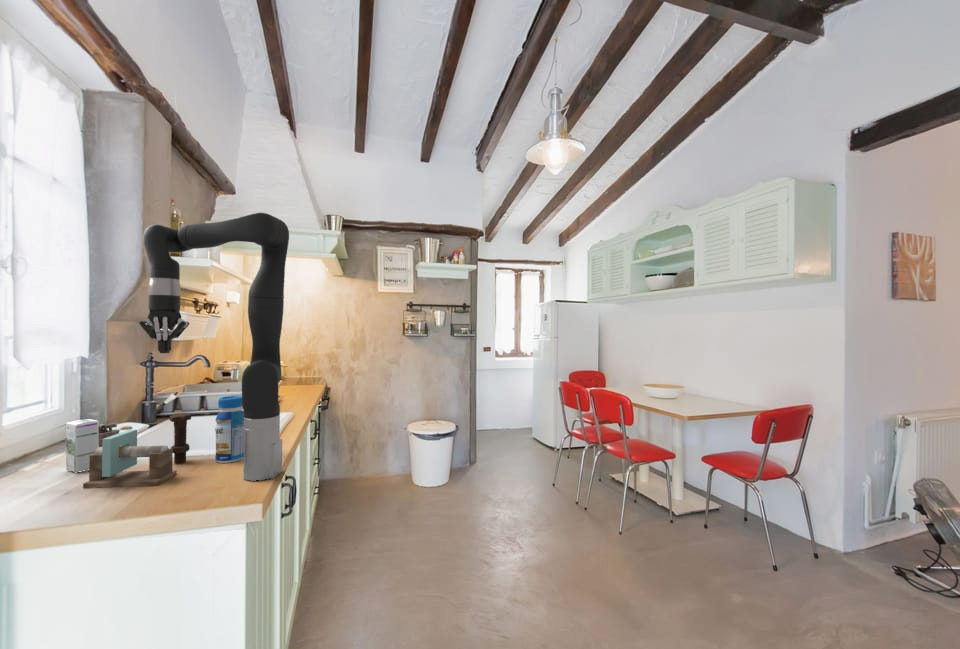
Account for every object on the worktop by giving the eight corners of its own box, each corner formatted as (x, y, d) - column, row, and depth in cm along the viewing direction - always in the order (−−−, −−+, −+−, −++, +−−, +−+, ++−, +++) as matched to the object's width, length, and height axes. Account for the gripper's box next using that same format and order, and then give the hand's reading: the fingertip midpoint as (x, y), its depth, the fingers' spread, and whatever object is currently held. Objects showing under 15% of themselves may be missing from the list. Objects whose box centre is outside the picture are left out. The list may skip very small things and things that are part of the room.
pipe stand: (176, 474, 122) (176, 440, 122) (156, 485, 113) (156, 450, 113) (109, 475, 120) (109, 442, 120) (83, 488, 111) (83, 451, 111)
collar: (136, 464, 122) (137, 429, 122) (110, 476, 112) (110, 438, 112) (129, 464, 121) (129, 429, 121) (102, 476, 111) (102, 439, 111)
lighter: (89, 458, 136) (90, 427, 136) (86, 456, 137) (86, 426, 137) (121, 452, 142) (121, 422, 143) (117, 450, 144) (117, 421, 144)
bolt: (178, 466, 129) (178, 417, 129) (164, 465, 130) (165, 416, 130) (194, 460, 134) (195, 413, 135) (181, 459, 136) (182, 412, 136)
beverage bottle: (246, 460, 134) (246, 398, 134) (214, 465, 130) (215, 400, 130) (244, 454, 141) (244, 394, 141) (214, 458, 137) (215, 396, 137)
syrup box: (99, 467, 127) (100, 419, 127) (74, 474, 122) (74, 424, 122) (90, 465, 129) (90, 418, 129) (64, 471, 124) (65, 422, 124)
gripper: (196, 295, 129) (195, 352, 129) (149, 295, 127) (149, 352, 127) (181, 293, 121) (180, 354, 121) (131, 293, 120) (131, 354, 120)
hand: (164, 353), depth 124 cm, fingers closed
